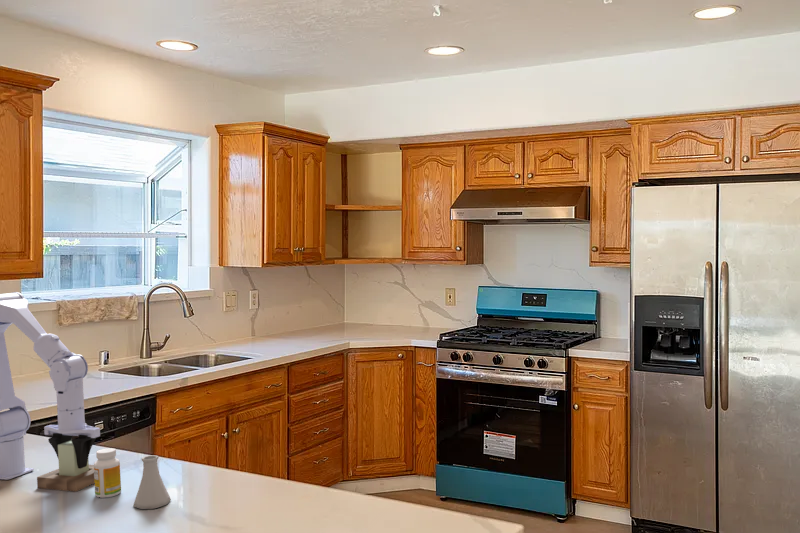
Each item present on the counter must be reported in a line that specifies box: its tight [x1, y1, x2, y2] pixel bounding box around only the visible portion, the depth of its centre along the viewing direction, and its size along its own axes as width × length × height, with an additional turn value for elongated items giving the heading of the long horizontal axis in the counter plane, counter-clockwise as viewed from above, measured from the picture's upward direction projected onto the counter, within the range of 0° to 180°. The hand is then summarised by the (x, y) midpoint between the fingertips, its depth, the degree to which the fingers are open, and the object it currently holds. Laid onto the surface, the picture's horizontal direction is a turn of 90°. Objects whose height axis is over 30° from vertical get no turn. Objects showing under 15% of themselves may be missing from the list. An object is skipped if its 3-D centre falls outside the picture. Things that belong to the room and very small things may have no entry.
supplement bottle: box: [93, 447, 122, 499], centre depth 168 cm, size 5×5×10 cm
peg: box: [57, 439, 90, 476], centre depth 177 cm, size 4×4×8 cm
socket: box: [36, 464, 95, 492], centre depth 177 cm, size 11×11×2 cm
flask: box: [132, 454, 172, 510], centre depth 160 cm, size 7×7×10 cm
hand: (73, 466), depth 177 cm, fingers closed on peg, 4 cm apart
